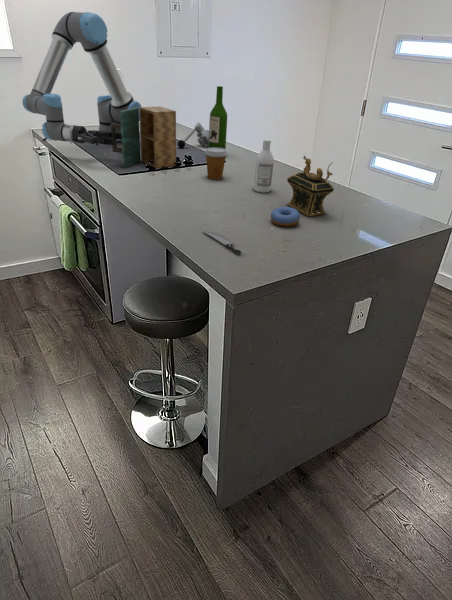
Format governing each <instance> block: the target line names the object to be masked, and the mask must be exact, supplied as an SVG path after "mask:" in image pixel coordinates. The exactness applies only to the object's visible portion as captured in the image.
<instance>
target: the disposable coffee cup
mask: <svg viewBox="0 0 452 600" xmlns="http://www.w3.org/2000/svg"><path fill="white" fill-rule="evenodd" d="M204 154H205V159H206V171H207V178H208V179H210V180H216V181H219V180H221V179H223V175H224V169H225V163H226V158H227V155H228V152H227V149H223V148H217V147H211V148H209V147H207V148H206V149H205V151H204Z"/></svg>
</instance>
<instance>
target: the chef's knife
mask: <svg viewBox="0 0 452 600" xmlns="http://www.w3.org/2000/svg"><path fill="white" fill-rule="evenodd" d="M204 234H206V235H207V236H208V237H210V238H212V239H213V240H215V241H217V242H219V243H220V244H222V245H223V246H224V247H226V248H228V249H230V250H231V251H232V252H234V253H236V254H237V255H241V254H242V251H241V250H239V249H237V248H235V247H234V246H232V245H233V244H234V243H233V242H231V241H230V240H227V239H226V238H225V237H223V236H220V235H217V234H215V233H210V232H207V231H204Z"/></svg>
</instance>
